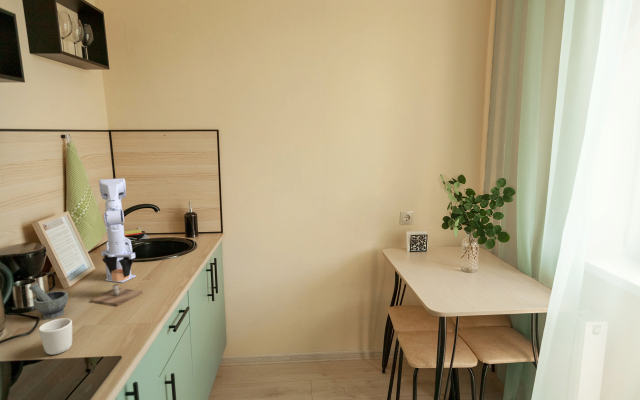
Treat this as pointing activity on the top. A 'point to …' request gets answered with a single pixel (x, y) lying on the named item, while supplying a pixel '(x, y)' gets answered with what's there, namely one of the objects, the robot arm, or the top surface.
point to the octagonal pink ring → (118, 275)
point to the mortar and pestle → (49, 302)
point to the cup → (56, 335)
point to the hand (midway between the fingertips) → (120, 274)
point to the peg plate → (116, 296)
